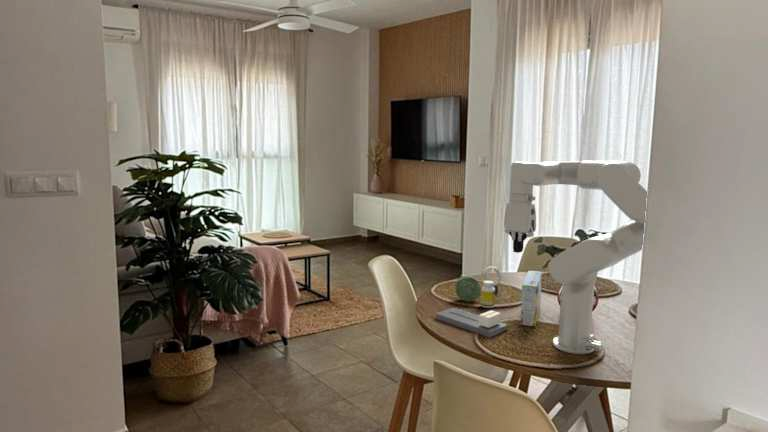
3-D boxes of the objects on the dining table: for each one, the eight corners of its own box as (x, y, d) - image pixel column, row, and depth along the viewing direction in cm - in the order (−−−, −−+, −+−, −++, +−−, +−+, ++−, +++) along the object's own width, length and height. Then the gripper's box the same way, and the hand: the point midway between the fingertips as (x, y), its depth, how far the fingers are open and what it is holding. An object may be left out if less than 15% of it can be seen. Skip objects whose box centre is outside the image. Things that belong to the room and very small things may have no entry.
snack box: (525, 307, 203) (527, 269, 201) (540, 309, 201) (543, 271, 199) (519, 325, 184) (521, 284, 181) (535, 327, 182) (538, 286, 179)
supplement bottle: (494, 308, 201) (495, 284, 199) (480, 307, 202) (481, 283, 200) (494, 304, 206) (495, 280, 205) (480, 303, 207) (481, 279, 206)
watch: (502, 293, 220) (503, 268, 218) (483, 293, 220) (484, 268, 218) (500, 290, 225) (501, 265, 223) (481, 289, 226) (482, 264, 224)
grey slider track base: (507, 330, 179) (507, 324, 178) (490, 337, 172) (490, 331, 172) (453, 312, 196) (453, 307, 196) (435, 318, 189) (435, 313, 189)
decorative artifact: (478, 299, 212) (479, 275, 210) (481, 305, 205) (483, 280, 203) (454, 299, 212) (455, 275, 210) (456, 304, 205) (457, 280, 203)
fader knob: (500, 322, 179) (500, 312, 178) (488, 327, 174) (488, 317, 173) (490, 319, 182) (491, 309, 181) (478, 324, 177) (479, 314, 176)
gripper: (546, 199, 171) (543, 254, 174) (508, 195, 182) (505, 246, 185) (534, 201, 166) (531, 257, 169) (495, 197, 177) (493, 249, 180)
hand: (517, 251), depth 177 cm, fingers closed
